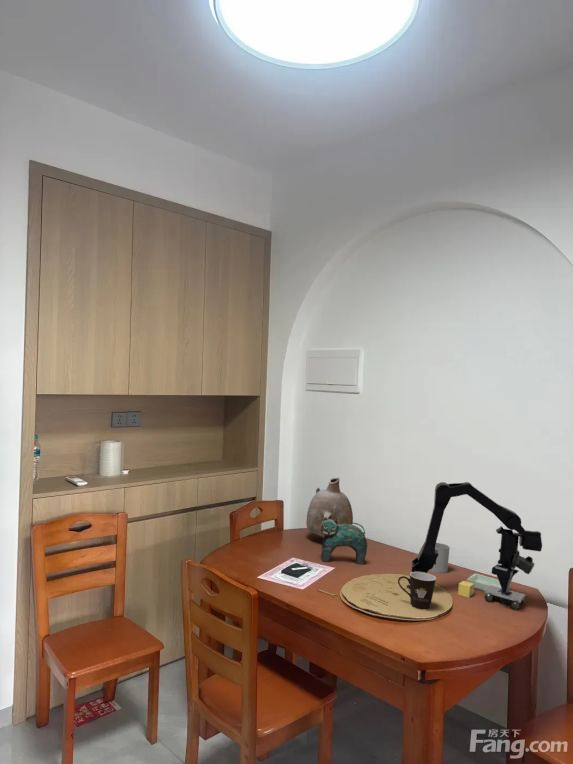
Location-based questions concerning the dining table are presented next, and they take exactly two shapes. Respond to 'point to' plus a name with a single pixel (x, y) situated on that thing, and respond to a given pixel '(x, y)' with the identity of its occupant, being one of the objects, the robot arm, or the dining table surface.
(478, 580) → the tray
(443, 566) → the cup
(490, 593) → the cart
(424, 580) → the coffee mug
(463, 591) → the yellow block
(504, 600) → the pin
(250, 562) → the dining table surface
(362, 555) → the ceramic cat
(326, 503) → the jug
